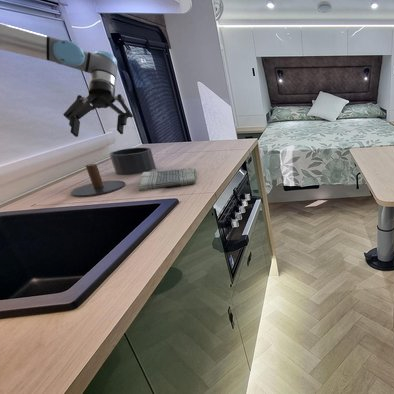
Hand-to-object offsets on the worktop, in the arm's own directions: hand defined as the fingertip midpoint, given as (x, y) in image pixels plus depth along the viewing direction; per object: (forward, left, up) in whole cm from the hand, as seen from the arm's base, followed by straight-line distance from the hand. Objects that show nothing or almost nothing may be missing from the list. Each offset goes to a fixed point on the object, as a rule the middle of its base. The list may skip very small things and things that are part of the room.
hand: (97, 133), depth 103 cm
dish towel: (+22, -3, -18) cm, 28 cm away
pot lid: (+2, -10, -17) cm, 20 cm away
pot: (+2, +13, -18) cm, 22 cm away
